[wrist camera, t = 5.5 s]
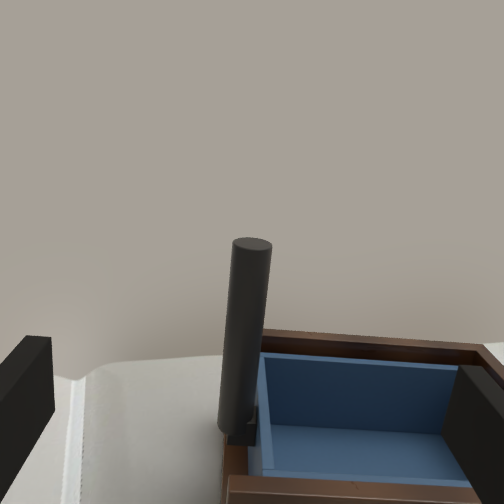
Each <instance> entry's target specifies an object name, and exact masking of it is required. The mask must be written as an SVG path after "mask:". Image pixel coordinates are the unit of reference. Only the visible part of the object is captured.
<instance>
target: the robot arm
mask: <svg viewBox="0 0 504 504" xmlns="http://www.w3.org/2000/svg"><path fill="white" fill-rule="evenodd" d="M54 412H55V400H54V381H53V362H52V342H51V337H42V336H28V335H27V336H25V337H24V338H23V340H22V341H21V342H20V343H19V344H18V345H17V346H16V347H15V349H14V350H13V351H12V352H11V353H10V354H9V355H8V356H7V357H6V358H5V360H4V361H3V362H2V363H1V364H0V503H1V501H2V500H3V498H4V496H5V495H6V493H7V491H8V490H9V488H10V486H11V484H12V483H13V481H14V479H15V478H16V476H17V474H18V473H19V471H20V469H21V468H22V466H23V464H24V462H25V461H26V459H27V457H28V456H29V454H30V452H31V451H32V449H33V447H34V446H35V444H36V442H37V440H38V439H39V437H40V435H41V434H42V432H43V430H44V429H45V427H46V425H47V424H48V422H49V420H50V418H51V417H52V415H53V413H54ZM440 434H441V436H442V437H443V439H444V441H445V442H446V444H447V446H448V447H449V449H450V451H451V452H452V454H453V456H454V457H455V459H456V461H457V462H458V464H459V466H460V467H461V469H462V471H463V472H464V474H465V476H466V478H467V479H468V481H469V483H470V484H471V486H472V488H473V489H474V491H475V493H476V494H477V496H478V498H479V499H480V501H481V503H482V504H504V391H503V390H502V388H501V387H500V386H499V385H498V384H497V383H496V382H495V381H494V380H493V378H492V377H491V376H490V375H489V374H488V373H487V372H486V371H485V370H484V368H483V367H482V366H471V365H459V366H458V370H457V373H456V377H455V381H454V385H453V388H452V392H451V396H450V400H449V403H448V407H447V411H446V415H445V418H444V422H443V426H442V430H441V433H440Z"/></svg>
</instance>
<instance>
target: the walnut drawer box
mask: <svg viewBox="0 0 504 504" xmlns="http://www.w3.org/2000/svg"><path fill="white" fill-rule="evenodd" d="M260 352H264V353H279V354H293V355H308V356H322V357H337V358H351V359H366V360H380V361H395V362H409V363H424V364H438V365H453V366H459V365H471V366H482V367H483V368H484V370H485V371H486V372H487V373H488V374H489V375H490V376H491V377H492V378H493V380H494V381H495V382H496V383H497V384H498V385H499V386H500V387H501V388H502V390H503V391H504V366H503V365H502V364H501V363H500V362H499V361H498V360H497V359H496V358H495V357H494V356H493V355H492V353H491V352H490V351H489V350H488V349H487V348H486V347H485V346H484V345H483V344H470V343H456V342H443V341H429V340H415V339H414V340H413V339H400V338H386V337H373V336H359V335H345V334H331V333H317V332H303V331H289V330H275V329H263V334H262V342H261V351H260ZM226 442H227V434H225V433H224V442H223V464H222V486H221V504H482V503H481V501H480V499H479V498H478V496H477V494H476V493H475V491H474V489H473V488H471V487H453V486H434V485H416V484H398V483H379V482H361V481H342V480H324V479H306V478H287V477H269V476H250V475H248V446H234V445H227V444H226Z"/></svg>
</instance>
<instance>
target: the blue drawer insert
mask: <svg viewBox="0 0 504 504" xmlns="http://www.w3.org/2000/svg"><path fill="white" fill-rule="evenodd" d="M271 254H272V244H271V243H270V242H268V241H266V240H263V239H258V238H248V237H246V238H238V239H235V240H234V241H233V243H232V256H231V267H230V280H229V291H228V303H227V315H226V327H225V338H224V350H223V362H222V374H221V386H220V398H219V410H218V422H217V424H218V427H219V429H220V430H221V431H222V432H223V433H225V434H227V442H226V444H227V445H234V446H248V475H250V476H269V477H287V478H306V479H324V480H342V481H361V482H379V483H398V484H416V485H434V486H453V487H471V488H472V486H471V484H470V483H469V481H468V479H467V478H466V476H465V474H464V472H463V471H462V469H461V467H460V466H459V464H458V462H457V461H456V459H455V457H454V456H453V454H452V452H451V451H450V449H449V447H448V446H447V444H446V442H445V441H444V439H443V437H442V436H441V434H440V433H441V430H442V426H443V422H444V418H445V415H446V411H447V407H448V403H449V400H450V396H451V392H452V388H453V385H454V381H455V377H456V373H457V370H458V366H453V365H438V364H424V363H409V362H395V361H380V360H366V359H351V358H337V357H322V356H308V355H293V354H279V353H264V352H260V351H261V342H262V334H263V325H264V316H265V307H266V298H267V290H268V281H269V272H270V263H271Z"/></svg>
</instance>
